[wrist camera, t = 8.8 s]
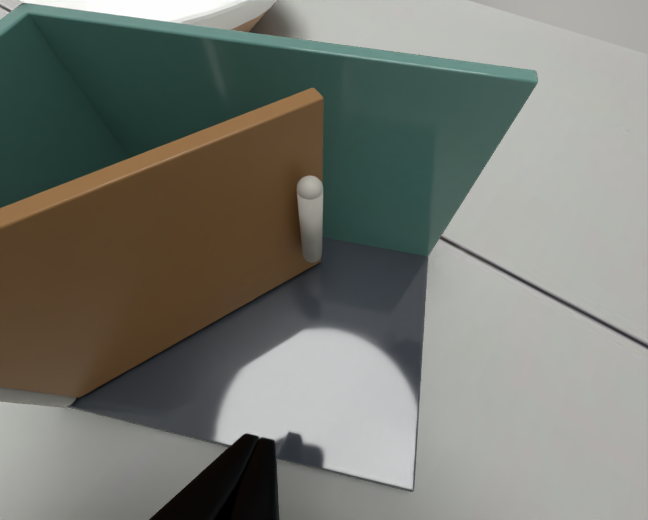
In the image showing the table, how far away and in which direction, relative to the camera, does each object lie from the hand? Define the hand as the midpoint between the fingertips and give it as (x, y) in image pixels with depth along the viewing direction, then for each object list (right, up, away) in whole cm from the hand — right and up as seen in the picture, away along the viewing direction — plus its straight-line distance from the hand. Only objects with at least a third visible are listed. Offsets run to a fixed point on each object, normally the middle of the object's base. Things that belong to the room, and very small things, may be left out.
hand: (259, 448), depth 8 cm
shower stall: (-2, +2, +9) cm, 10 cm away
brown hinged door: (-4, +1, +8) cm, 9 cm away
